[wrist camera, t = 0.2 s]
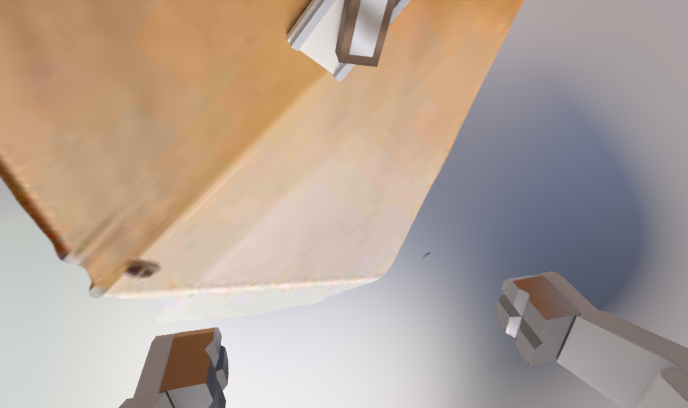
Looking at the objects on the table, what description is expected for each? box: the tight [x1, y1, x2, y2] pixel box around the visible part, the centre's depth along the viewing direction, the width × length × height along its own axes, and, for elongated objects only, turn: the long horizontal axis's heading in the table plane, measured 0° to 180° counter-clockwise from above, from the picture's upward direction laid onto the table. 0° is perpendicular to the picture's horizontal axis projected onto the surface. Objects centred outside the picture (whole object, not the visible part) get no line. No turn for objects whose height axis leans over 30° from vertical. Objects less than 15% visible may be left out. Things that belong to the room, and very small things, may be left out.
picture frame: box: [335, 0, 396, 67], centre depth 49 cm, size 14×6×4 cm, turn 168°
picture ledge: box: [286, 0, 411, 82], centre depth 51 cm, size 22×11×3 cm, turn 138°
